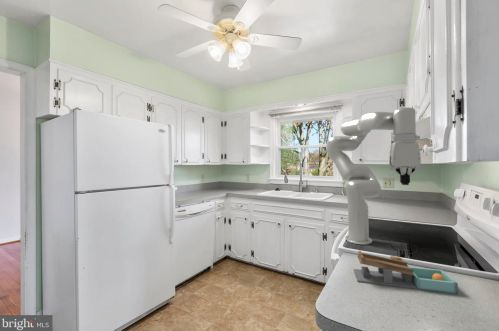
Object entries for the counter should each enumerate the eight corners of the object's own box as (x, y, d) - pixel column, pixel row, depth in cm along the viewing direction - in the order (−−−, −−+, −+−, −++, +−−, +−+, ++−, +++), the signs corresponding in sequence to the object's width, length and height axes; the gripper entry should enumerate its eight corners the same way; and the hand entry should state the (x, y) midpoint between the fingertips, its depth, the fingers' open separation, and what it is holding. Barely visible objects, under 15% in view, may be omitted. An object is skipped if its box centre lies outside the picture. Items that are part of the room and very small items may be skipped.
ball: (428, 277, 78) (433, 269, 77) (438, 283, 77) (443, 275, 76) (432, 282, 74) (438, 274, 74) (443, 288, 74) (449, 279, 73)
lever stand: (353, 270, 87) (353, 257, 87) (406, 275, 82) (406, 262, 82) (357, 281, 78) (357, 267, 78) (417, 288, 73) (416, 273, 73)
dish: (406, 275, 82) (406, 266, 82) (441, 279, 79) (441, 269, 79) (417, 289, 73) (417, 279, 73) (457, 293, 70) (457, 283, 70)
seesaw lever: (354, 252, 92) (355, 244, 92) (400, 262, 87) (401, 253, 87) (359, 266, 79) (361, 256, 79) (414, 278, 75) (415, 268, 75)
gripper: (422, 139, 95) (422, 184, 95) (381, 141, 99) (381, 183, 99) (430, 137, 88) (431, 185, 88) (386, 139, 92) (386, 185, 92)
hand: (405, 184), depth 94 cm, fingers closed
